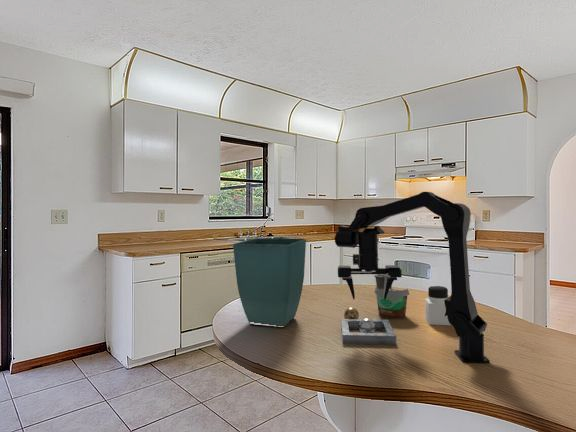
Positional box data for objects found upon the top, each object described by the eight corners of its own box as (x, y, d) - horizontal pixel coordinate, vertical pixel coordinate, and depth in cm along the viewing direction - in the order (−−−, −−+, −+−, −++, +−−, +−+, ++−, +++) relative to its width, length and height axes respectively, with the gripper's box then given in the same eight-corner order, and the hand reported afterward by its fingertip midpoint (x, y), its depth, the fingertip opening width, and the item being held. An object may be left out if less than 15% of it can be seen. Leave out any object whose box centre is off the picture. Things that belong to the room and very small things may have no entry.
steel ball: (376, 338, 108) (376, 321, 107) (359, 337, 108) (359, 320, 108) (374, 332, 113) (374, 316, 112) (358, 331, 113) (358, 315, 113)
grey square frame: (396, 344, 102) (396, 336, 102) (342, 343, 104) (342, 334, 104) (388, 327, 117) (387, 319, 117) (341, 326, 119) (341, 318, 119)
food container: (370, 317, 128) (370, 289, 128) (375, 312, 134) (374, 285, 133) (406, 321, 122) (406, 292, 122) (409, 316, 128) (409, 288, 128)
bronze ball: (359, 324, 120) (359, 309, 120) (344, 324, 121) (344, 309, 120) (358, 320, 125) (358, 305, 125) (343, 319, 125) (343, 305, 125)
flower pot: (291, 334, 112) (289, 244, 112) (233, 328, 119) (231, 243, 118) (308, 315, 131) (306, 238, 131) (258, 311, 138) (256, 238, 137)
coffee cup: (371, 295, 159) (370, 273, 159) (387, 293, 162) (386, 271, 161) (381, 299, 151) (380, 276, 151) (397, 298, 154) (397, 274, 154)
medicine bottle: (452, 326, 117) (451, 289, 117) (429, 325, 118) (428, 288, 118) (447, 319, 124) (446, 284, 124) (425, 318, 125) (424, 284, 125)
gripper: (394, 245, 117) (395, 293, 117) (336, 246, 119) (337, 293, 119) (401, 249, 106) (402, 302, 106) (337, 250, 108) (338, 301, 108)
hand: (369, 299), depth 110 cm, fingers open, 9 cm apart
